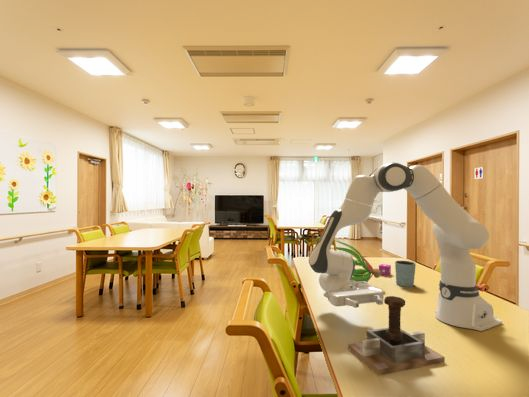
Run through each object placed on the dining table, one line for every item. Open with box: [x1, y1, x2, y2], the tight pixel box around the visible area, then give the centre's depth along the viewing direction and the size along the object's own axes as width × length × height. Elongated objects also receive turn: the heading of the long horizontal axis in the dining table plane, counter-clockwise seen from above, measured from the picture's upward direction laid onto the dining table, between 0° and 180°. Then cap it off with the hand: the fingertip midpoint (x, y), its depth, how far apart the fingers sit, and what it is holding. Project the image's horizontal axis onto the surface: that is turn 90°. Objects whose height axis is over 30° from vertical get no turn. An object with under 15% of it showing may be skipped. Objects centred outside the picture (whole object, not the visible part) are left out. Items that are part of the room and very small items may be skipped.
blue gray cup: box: [394, 260, 417, 288], centre depth 158 cm, size 10×10×12 cm
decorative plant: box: [330, 239, 383, 283], centre depth 154 cm, size 26×25×30 cm
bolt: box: [383, 295, 406, 346], centre depth 86 cm, size 6×5×15 cm
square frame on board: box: [347, 327, 446, 376], centre depth 86 cm, size 22×14×6 cm, turn 107°
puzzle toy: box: [378, 263, 392, 277], centre depth 179 cm, size 6×6×6 cm
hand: (369, 303), depth 97 cm, fingers open, 8 cm apart
